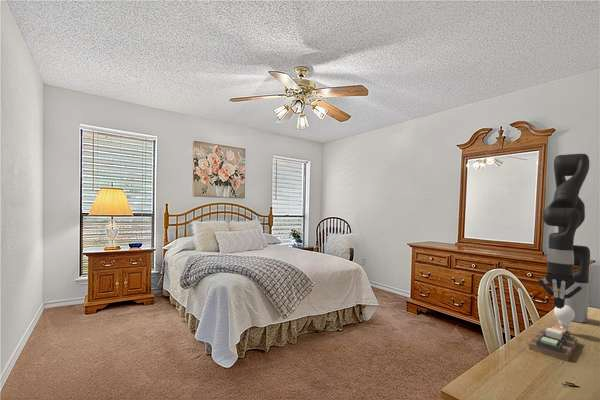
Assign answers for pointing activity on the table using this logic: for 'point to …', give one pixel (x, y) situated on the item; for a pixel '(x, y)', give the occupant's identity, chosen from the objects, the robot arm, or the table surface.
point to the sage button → (549, 341)
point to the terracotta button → (559, 329)
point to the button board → (560, 351)
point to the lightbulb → (564, 316)
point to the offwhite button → (554, 333)
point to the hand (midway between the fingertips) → (559, 307)
